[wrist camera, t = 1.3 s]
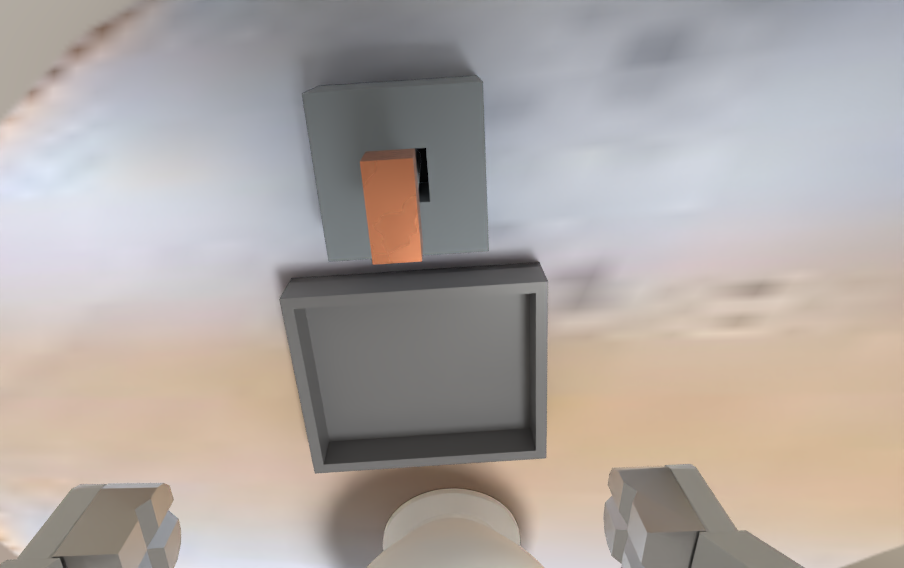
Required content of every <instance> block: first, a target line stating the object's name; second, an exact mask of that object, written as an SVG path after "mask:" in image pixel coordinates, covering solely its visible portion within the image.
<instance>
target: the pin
mask: <svg viewBox="0 0 904 568" xmlns="http://www.w3.org/2000/svg"><path fill="white" fill-rule="evenodd" d="M421 162H422V158H421V154H420V152H419V150H418V149H417V148H416V149H415V148H413V149H398V150H382V151H367V152H365V154H364V155H363V157H362V159H361V160H360V168H361V176H362V184H363V192H364V199H365V207H366V215H367V223H368V231H369V239H370V247H371V255H372V263H373V265H376V264H391V263H406V262H422V254H423V238H422V227H421V215H420V203H419V191H418V189H419V180H420V171H421Z"/></svg>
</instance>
